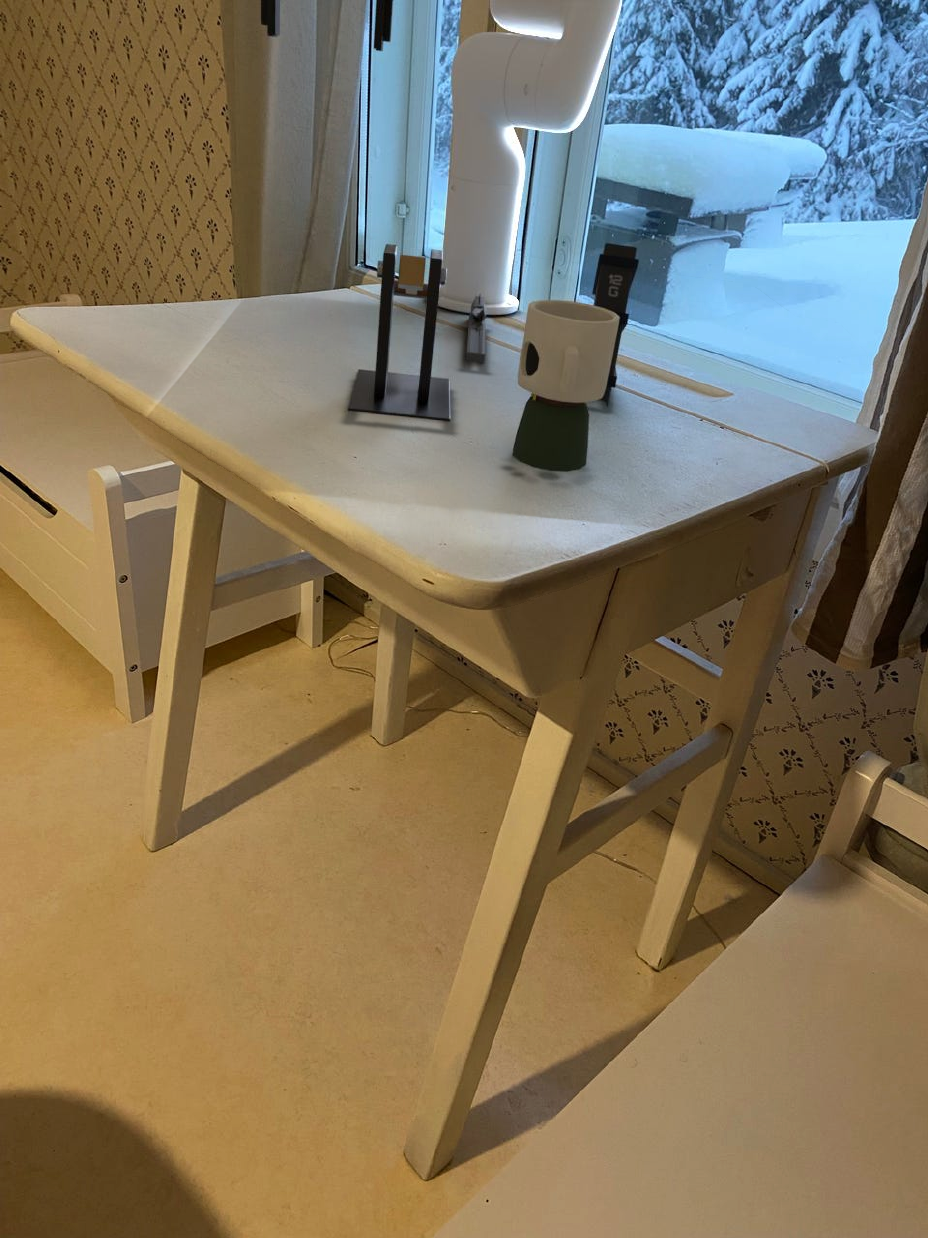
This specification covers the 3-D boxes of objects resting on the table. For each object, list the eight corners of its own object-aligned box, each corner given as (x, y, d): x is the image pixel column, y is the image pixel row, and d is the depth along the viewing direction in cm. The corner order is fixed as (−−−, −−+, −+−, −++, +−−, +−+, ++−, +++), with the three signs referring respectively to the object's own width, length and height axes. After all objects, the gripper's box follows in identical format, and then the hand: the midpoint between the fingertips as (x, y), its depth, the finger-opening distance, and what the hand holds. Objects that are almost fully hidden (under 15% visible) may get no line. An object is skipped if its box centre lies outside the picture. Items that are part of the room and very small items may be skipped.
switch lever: (383, 300, 93) (385, 274, 92) (438, 306, 93) (440, 281, 93) (378, 281, 80) (381, 251, 79) (442, 288, 80) (445, 259, 80)
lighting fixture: (488, 375, 100) (493, 336, 98) (464, 373, 100) (468, 333, 97) (488, 331, 116) (492, 296, 114) (467, 328, 116) (471, 293, 113)
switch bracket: (357, 381, 92) (366, 233, 85) (448, 391, 93) (464, 245, 86) (347, 422, 82) (355, 257, 75) (448, 433, 83) (466, 270, 76)
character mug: (505, 441, 82) (527, 289, 76) (584, 451, 83) (613, 300, 76) (504, 488, 73) (528, 320, 66) (593, 500, 73) (627, 333, 67)
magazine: (574, 399, 90) (602, 240, 88) (570, 418, 103) (594, 280, 101) (613, 405, 89) (641, 246, 88) (603, 423, 102) (628, 285, 101)
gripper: (437, -173, 81) (420, 55, 90) (236, -204, 80) (238, 31, 88) (437, -193, 75) (419, 56, 83) (219, -227, 73) (223, 29, 82)
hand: (326, 43), depth 86 cm, fingers open, 9 cm apart
